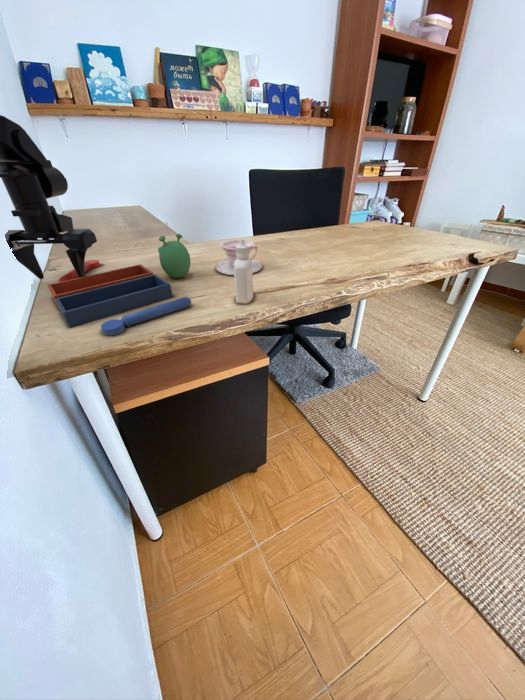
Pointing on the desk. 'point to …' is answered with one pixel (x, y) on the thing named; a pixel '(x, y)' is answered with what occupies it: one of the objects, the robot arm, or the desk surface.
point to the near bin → (112, 299)
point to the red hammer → (87, 266)
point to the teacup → (230, 249)
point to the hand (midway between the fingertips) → (62, 278)
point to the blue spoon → (143, 316)
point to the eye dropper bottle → (243, 274)
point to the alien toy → (174, 257)
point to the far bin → (97, 281)
